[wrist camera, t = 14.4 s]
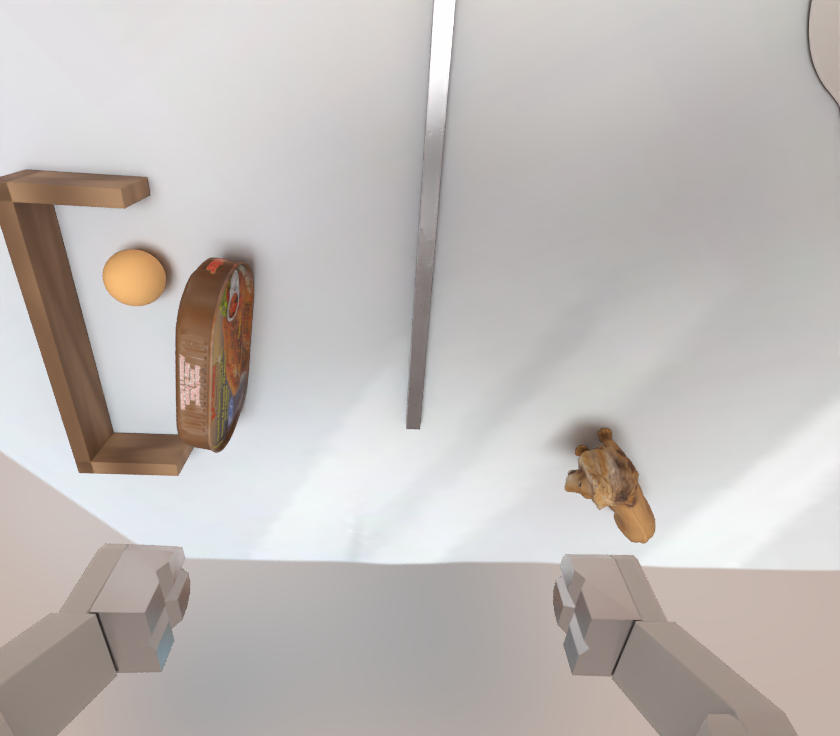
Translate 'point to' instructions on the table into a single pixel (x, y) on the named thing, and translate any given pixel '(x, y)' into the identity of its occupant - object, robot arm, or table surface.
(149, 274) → the ball
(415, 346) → the rail
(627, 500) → the lion figurine
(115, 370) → the table surface
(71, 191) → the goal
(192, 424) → the tin
